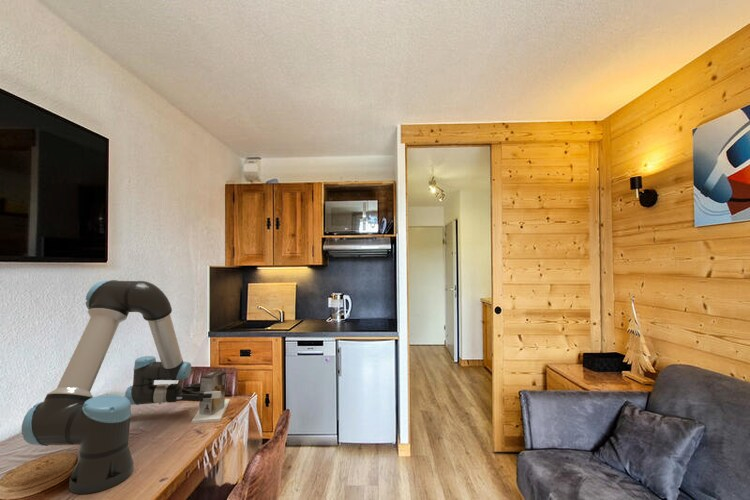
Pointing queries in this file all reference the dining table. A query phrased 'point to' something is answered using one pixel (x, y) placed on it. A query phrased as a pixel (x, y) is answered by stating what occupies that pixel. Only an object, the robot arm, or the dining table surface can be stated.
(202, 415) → the marked board
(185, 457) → the dining table surface
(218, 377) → the coffee box
